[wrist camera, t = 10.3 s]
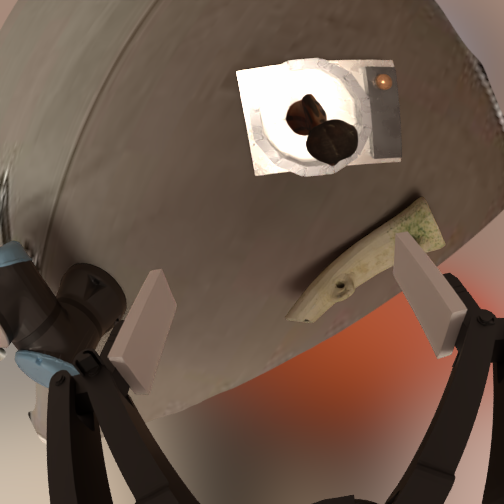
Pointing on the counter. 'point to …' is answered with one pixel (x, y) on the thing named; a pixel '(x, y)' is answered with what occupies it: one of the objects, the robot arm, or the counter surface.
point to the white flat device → (333, 102)
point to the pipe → (366, 261)
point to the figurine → (322, 131)
